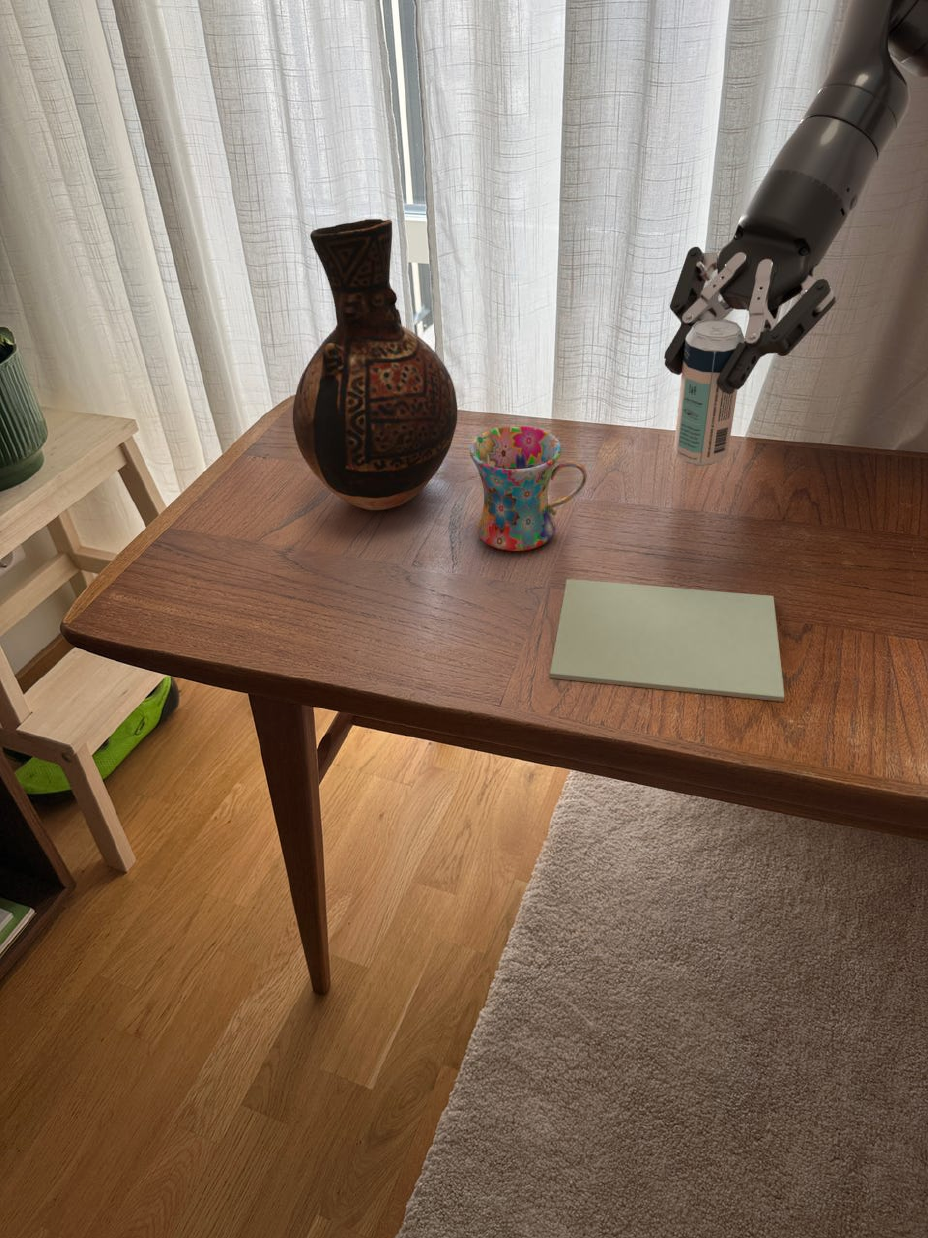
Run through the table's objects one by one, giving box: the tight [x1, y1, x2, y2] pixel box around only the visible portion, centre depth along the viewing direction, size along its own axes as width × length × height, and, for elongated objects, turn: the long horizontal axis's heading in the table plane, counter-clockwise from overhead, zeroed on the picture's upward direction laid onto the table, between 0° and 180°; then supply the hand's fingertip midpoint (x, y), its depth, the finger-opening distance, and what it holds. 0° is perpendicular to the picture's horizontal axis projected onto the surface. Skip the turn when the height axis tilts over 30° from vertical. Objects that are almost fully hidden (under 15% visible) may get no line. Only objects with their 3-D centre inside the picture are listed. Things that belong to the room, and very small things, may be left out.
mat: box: [549, 578, 786, 703], centre depth 82 cm, size 20×14×1 cm
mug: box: [469, 425, 588, 552], centre depth 93 cm, size 12×9×11 cm
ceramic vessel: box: [292, 218, 458, 511], centre depth 95 cm, size 21×18×30 cm
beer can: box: [673, 318, 745, 467], centre depth 77 cm, size 5×5×12 cm
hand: (697, 378), depth 75 cm, fingers closed on beer can, 5 cm apart
